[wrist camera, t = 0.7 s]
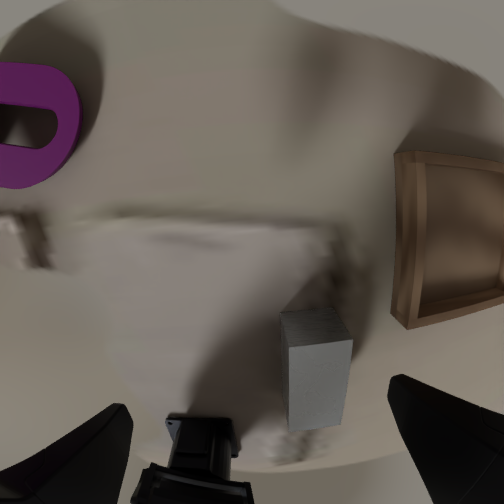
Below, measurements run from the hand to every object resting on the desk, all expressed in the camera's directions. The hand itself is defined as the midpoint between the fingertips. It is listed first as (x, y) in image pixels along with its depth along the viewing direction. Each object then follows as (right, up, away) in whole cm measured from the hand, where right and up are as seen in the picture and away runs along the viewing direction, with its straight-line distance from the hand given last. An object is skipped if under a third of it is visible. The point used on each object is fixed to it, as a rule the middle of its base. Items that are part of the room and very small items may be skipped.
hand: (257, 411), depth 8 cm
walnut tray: (+17, +7, +12) cm, 22 cm away
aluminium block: (+4, -3, +14) cm, 15 cm away
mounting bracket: (-21, +16, +9) cm, 28 cm away
